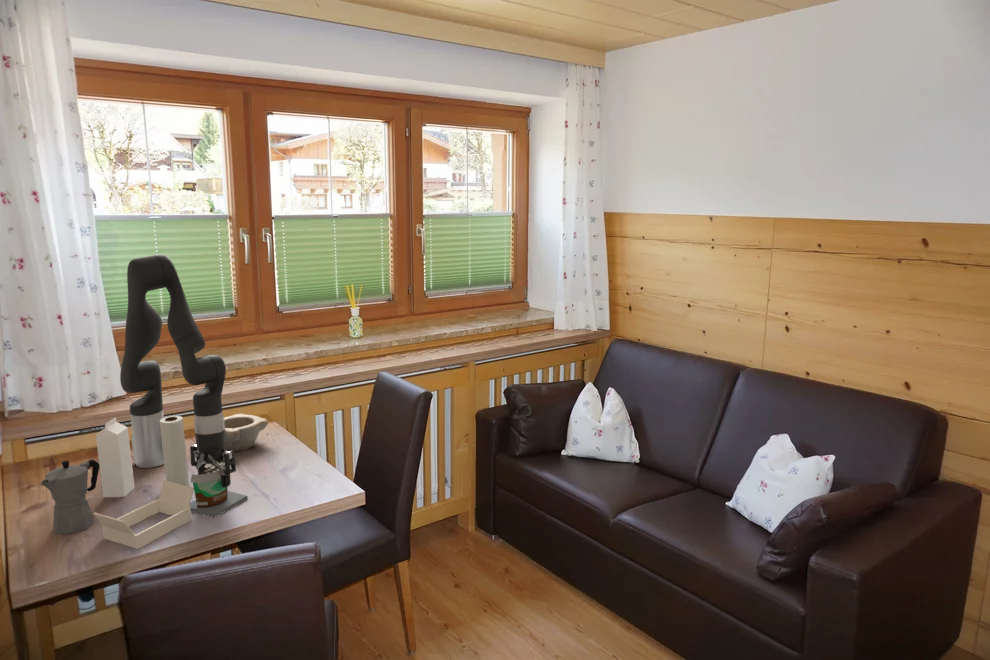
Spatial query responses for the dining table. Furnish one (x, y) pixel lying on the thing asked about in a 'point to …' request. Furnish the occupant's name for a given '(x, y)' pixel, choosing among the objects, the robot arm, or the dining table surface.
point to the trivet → (220, 505)
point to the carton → (169, 502)
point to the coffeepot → (71, 496)
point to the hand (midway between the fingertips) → (214, 483)
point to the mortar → (242, 431)
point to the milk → (115, 460)
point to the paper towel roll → (174, 450)
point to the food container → (209, 487)
